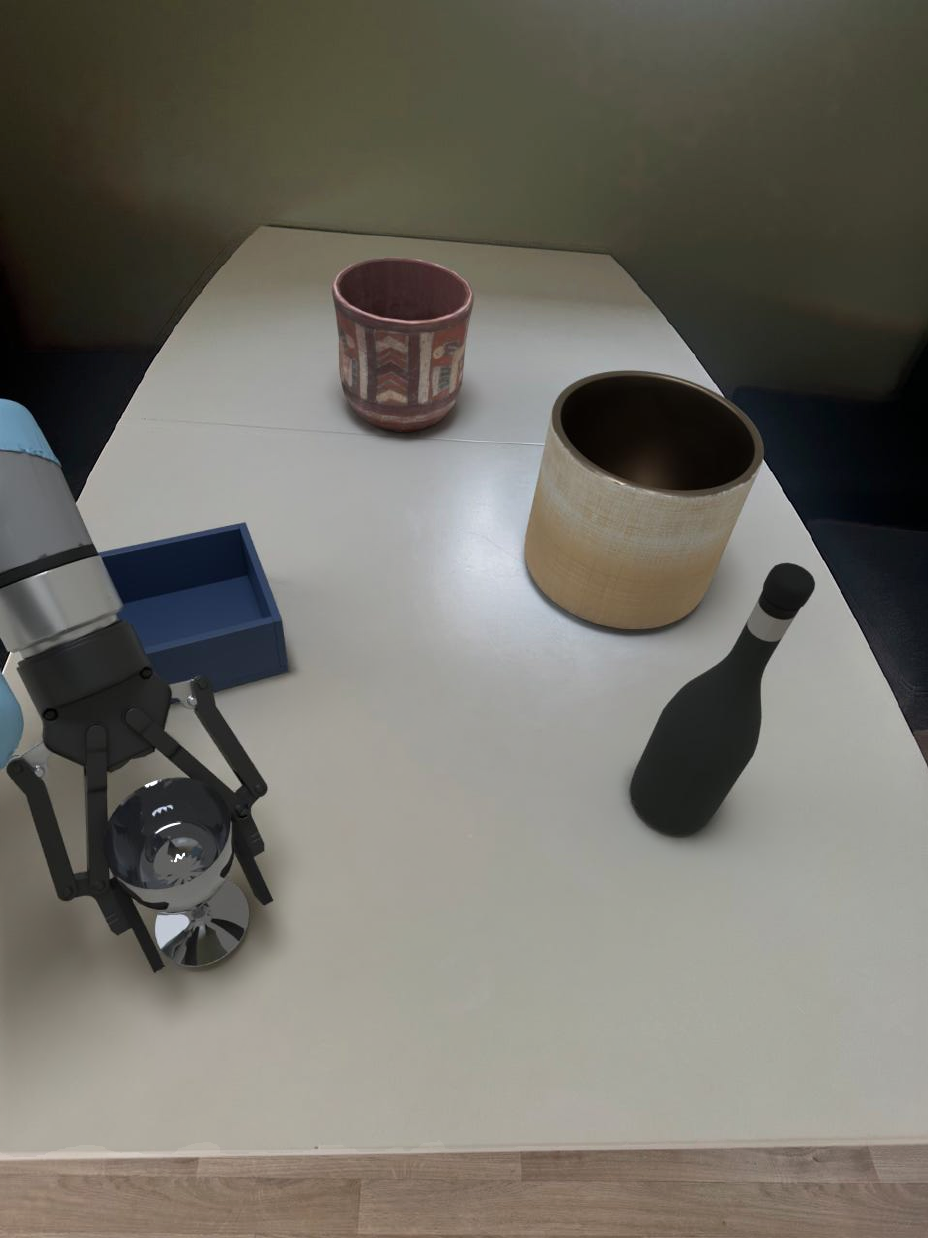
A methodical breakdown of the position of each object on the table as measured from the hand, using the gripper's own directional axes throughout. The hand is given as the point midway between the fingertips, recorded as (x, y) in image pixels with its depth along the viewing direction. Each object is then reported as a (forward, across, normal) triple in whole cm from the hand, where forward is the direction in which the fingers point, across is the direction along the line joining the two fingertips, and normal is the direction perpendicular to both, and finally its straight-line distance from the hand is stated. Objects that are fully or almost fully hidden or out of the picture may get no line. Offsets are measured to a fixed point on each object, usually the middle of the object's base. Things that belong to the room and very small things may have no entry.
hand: (211, 929), depth 57 cm
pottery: (-35, -53, -44) cm, 78 cm away
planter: (-6, -58, -16) cm, 60 cm away
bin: (-18, -11, -27) cm, 34 cm away
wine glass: (+2, 0, -6) cm, 7 cm away
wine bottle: (+12, -40, +2) cm, 42 cm away
